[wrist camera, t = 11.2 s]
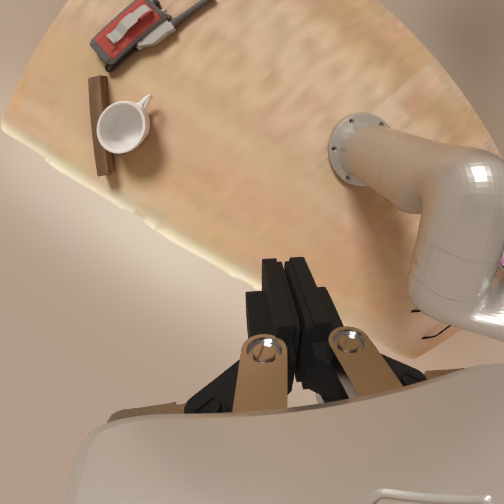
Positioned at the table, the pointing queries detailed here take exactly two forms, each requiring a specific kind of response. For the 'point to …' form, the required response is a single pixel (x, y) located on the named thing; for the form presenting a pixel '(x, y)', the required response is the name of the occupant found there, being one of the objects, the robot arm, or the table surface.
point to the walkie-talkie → (136, 30)
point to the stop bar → (97, 106)
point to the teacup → (124, 125)
